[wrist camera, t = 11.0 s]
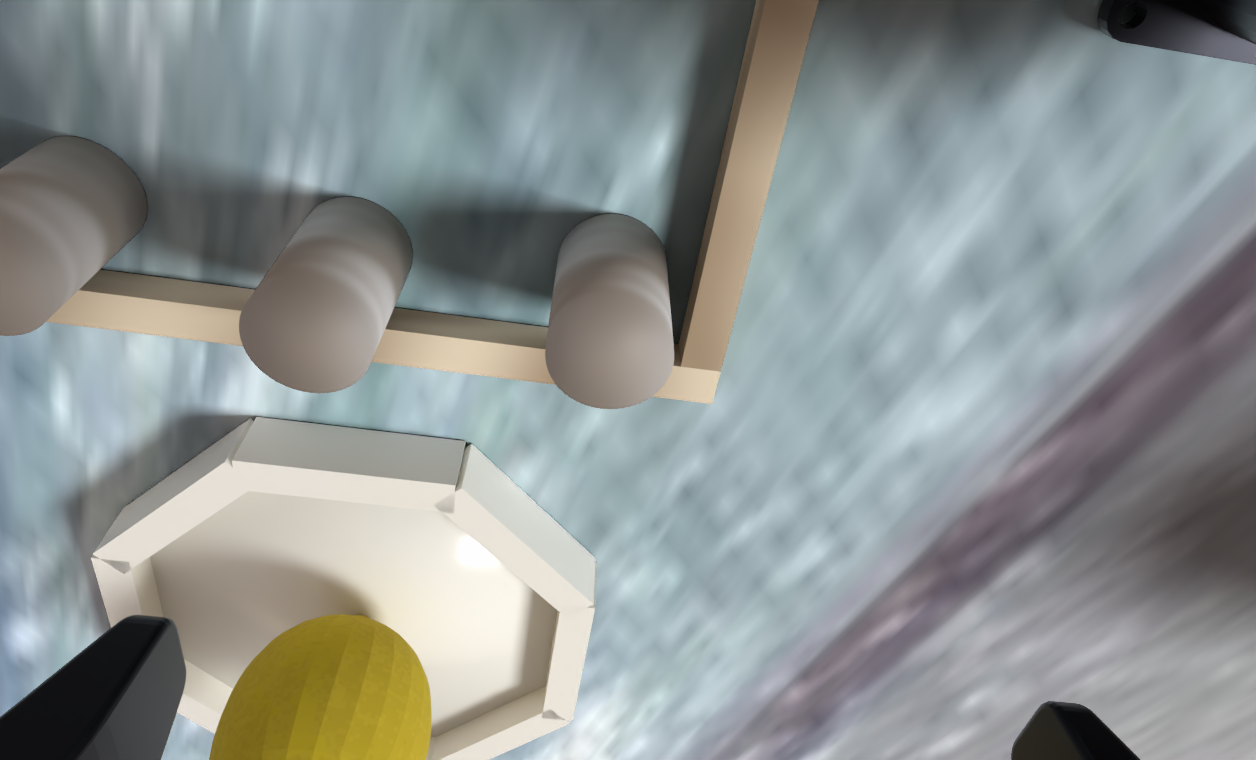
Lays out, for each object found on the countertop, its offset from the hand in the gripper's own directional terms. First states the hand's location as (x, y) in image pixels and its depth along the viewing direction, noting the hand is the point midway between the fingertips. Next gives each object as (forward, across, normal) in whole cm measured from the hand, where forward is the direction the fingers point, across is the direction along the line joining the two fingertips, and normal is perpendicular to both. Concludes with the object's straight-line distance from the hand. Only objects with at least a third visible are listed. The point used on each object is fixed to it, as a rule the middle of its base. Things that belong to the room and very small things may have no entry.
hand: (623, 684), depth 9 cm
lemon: (+12, +6, +15) cm, 20 cm away
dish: (+13, +6, +15) cm, 21 cm away
